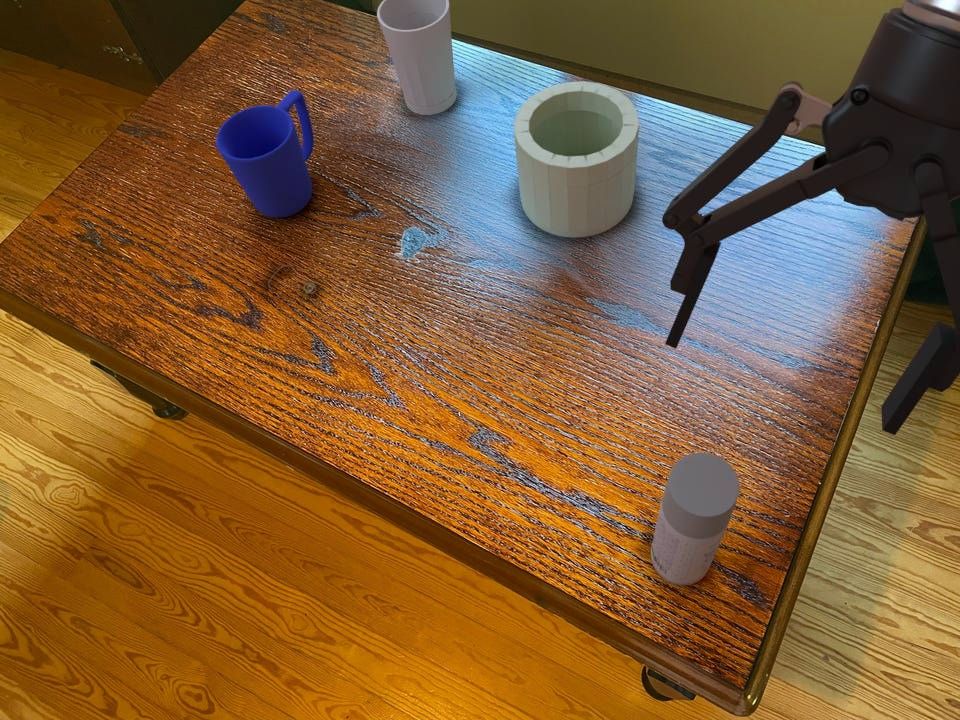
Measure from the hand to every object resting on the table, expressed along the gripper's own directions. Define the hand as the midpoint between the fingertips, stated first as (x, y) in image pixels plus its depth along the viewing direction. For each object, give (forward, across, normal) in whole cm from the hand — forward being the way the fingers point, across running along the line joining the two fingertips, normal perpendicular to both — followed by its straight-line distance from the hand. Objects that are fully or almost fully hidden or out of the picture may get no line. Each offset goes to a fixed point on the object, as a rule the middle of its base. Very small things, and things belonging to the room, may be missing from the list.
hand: (777, 378), depth 49 cm
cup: (+6, +44, -44) cm, 62 cm away
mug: (+16, +52, -27) cm, 61 cm away
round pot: (+8, +22, -34) cm, 41 cm away
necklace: (+20, +45, -16) cm, 52 cm away
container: (+20, 0, -3) cm, 21 cm away
